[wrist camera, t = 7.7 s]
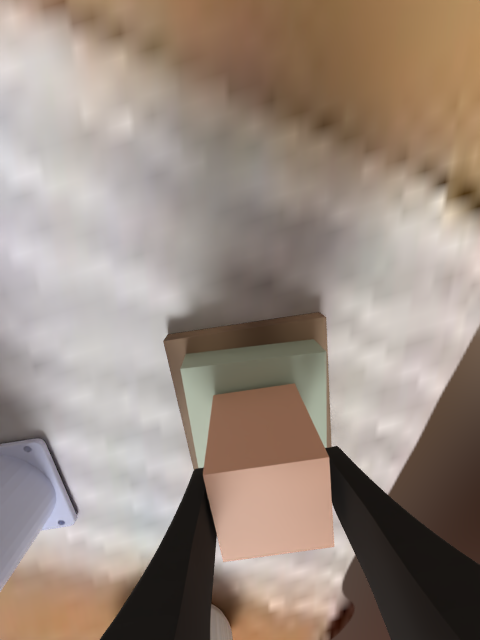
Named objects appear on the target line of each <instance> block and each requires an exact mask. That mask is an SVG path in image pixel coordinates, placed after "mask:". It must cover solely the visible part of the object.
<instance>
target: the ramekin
mask: <svg viewBox="0 0 480 640" xmlns="http://www.w3.org/2000/svg"><path fill="white" fill-rule="evenodd" d="M210 640H233V637H232V631H231V627H230V624H229V622H228V620H227V618H226V617H225V615H224V614H223V612H222V611H221V610H220V609H219V608H217V607H216V606H214V605H213V604H211V619H210Z"/></svg>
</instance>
